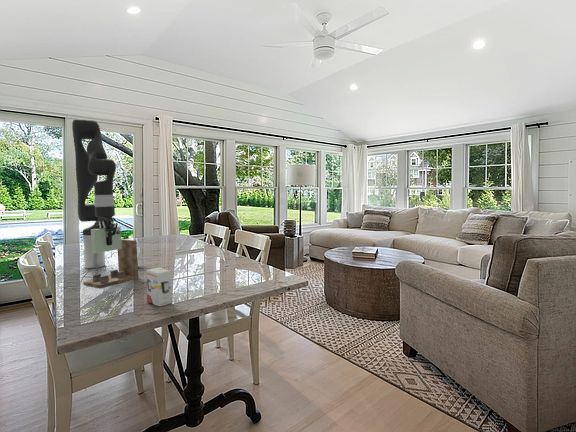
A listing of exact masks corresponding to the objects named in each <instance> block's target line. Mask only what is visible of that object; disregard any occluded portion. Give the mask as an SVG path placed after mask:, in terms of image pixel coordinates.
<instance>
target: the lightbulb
mask: <svg viewBox="0 0 576 432" xmlns="http://www.w3.org/2000/svg"><path fill="white" fill-rule="evenodd" d="M140 253H141V249H140V247H139V246H138V245H137V259H138V257H139V255H140Z"/></svg>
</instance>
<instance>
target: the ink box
mask: <svg viewBox="0 0 576 432" xmlns="http://www.w3.org/2000/svg"><path fill="white" fill-rule="evenodd" d="M171 274H172V273H171V271H170V270H168V269H165V268H163V267H154V268H150V269H146V296H147V297H146V301H147V303H150V304H152V305H155V306H156V307H162V306H166V305H169V304H172V282H171V277H172V276H171Z"/></svg>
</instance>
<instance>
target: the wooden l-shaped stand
mask: <svg viewBox="0 0 576 432" xmlns="http://www.w3.org/2000/svg"><path fill="white" fill-rule="evenodd" d="M121 243H122V249H117V250H116V251H117V263H118V269H113V270H110V271H109V272H110V273H109V274H106V275H102V274H101V273H97V274H92V279H89V280H83V285H85V286H90V287H93V286H94V288H100V289H102V288H105V287H109V286H113V285H116V284H119V283H124V282H127V281H130V280H134V279H138V278H139V265H138V262H139V261H138V258H137V246H138V244H137V240H136V239H126V238H121Z"/></svg>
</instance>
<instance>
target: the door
mask: <svg viewBox="0 0 576 432" xmlns="http://www.w3.org/2000/svg"><path fill="white" fill-rule="evenodd" d="M121 229H122V228H121V226H118V225H117V229H116V233H115V235H113V236H112V245H109V246H108V245H107V244H106V233H105V231H104V228H99V229H91V241H92V253H100V252H105V253H106V252H111V251H115V250H116V251H118V250H117V249H122V243H121V239H122V230H121ZM107 230H109V229H107ZM108 233H109V231H108ZM112 233H113V231H112Z"/></svg>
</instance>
